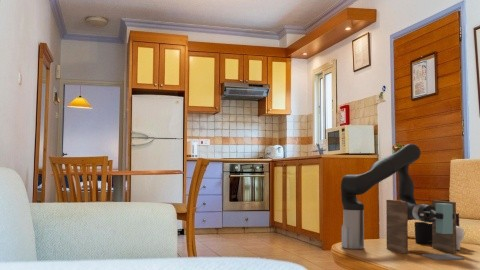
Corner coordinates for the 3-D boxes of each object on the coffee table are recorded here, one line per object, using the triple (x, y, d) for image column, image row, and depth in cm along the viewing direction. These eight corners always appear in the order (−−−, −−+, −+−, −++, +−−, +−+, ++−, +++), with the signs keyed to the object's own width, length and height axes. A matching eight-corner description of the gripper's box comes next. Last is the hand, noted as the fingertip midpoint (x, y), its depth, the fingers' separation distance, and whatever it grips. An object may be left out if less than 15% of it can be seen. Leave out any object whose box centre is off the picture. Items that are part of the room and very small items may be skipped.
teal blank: (443, 233, 205) (442, 204, 206) (435, 232, 210) (435, 203, 211) (452, 233, 206) (452, 204, 207) (445, 232, 211) (445, 203, 212)
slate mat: (436, 260, 200) (436, 258, 200) (421, 255, 211) (421, 254, 211) (463, 259, 203) (463, 258, 203) (447, 255, 213) (447, 253, 213)
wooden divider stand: (404, 254, 214) (404, 201, 216) (386, 248, 230) (386, 199, 232) (456, 253, 219) (455, 202, 221) (435, 248, 235) (434, 200, 237)
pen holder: (415, 243, 249) (415, 223, 250) (413, 241, 258) (413, 221, 259) (436, 244, 247) (435, 224, 248) (433, 242, 256) (433, 222, 257)
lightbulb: (464, 250, 230) (463, 225, 231) (465, 252, 224) (465, 226, 225) (449, 249, 232) (448, 224, 233) (450, 251, 226) (449, 226, 227)
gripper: (410, 204, 221) (432, 207, 205) (439, 204, 224) (463, 207, 208) (410, 221, 221) (432, 225, 204) (439, 221, 224) (464, 225, 207)
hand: (448, 216), depth 206 cm, fingers closed on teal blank, 4 cm apart
